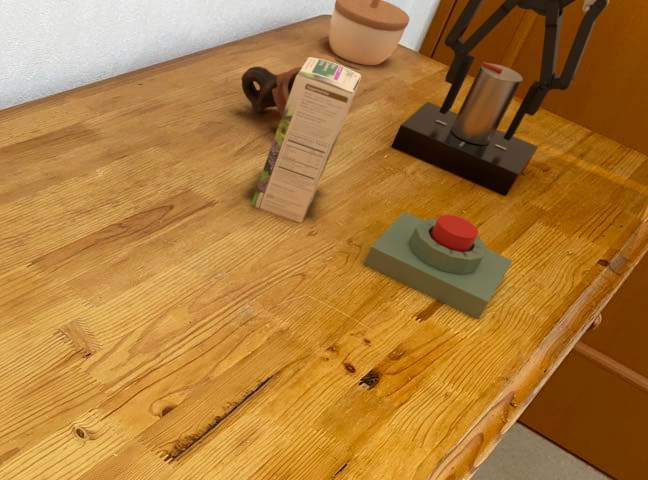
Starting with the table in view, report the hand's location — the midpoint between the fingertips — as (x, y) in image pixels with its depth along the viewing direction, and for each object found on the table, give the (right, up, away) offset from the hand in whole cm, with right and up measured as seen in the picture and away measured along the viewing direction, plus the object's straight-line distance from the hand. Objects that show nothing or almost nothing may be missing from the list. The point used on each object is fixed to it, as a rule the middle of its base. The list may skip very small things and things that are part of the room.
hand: (476, 123), depth 105 cm
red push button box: (-12, -21, -19) cm, 31 cm away
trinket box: (-9, +16, +22) cm, 29 cm away
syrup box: (-27, -14, -14) cm, 33 cm away
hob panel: (-1, -3, +3) cm, 5 cm away
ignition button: (-12, -19, -21) cm, 31 cm away
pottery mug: (-24, 0, +1) cm, 24 cm away
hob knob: (0, -1, +1) cm, 2 cm away
